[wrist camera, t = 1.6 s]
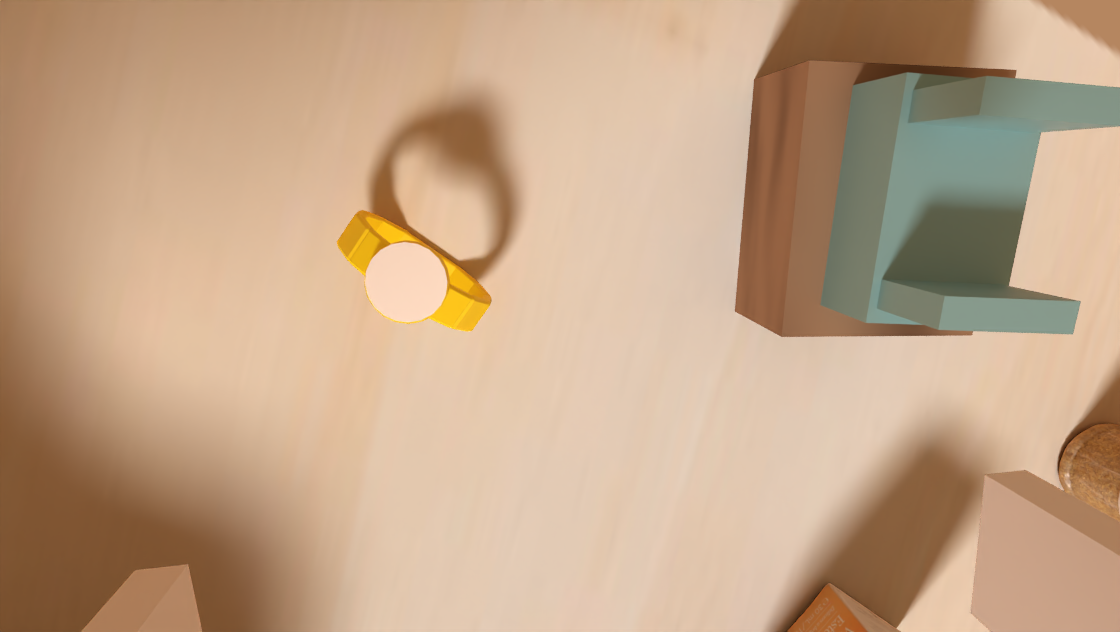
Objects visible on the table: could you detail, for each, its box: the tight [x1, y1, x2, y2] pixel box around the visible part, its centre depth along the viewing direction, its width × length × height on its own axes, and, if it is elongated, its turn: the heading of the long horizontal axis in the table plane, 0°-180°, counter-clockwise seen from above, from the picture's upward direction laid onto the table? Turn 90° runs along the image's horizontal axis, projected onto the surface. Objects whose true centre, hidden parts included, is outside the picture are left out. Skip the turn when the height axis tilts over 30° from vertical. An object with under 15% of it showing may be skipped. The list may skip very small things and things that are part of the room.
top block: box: [820, 72, 1120, 334], centre depth 21 cm, size 5×8×6 cm, turn 177°
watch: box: [337, 210, 491, 331], centre depth 24 cm, size 6×3×6 cm, turn 54°
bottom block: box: [735, 60, 1016, 337], centre depth 26 cm, size 8×10×5 cm
